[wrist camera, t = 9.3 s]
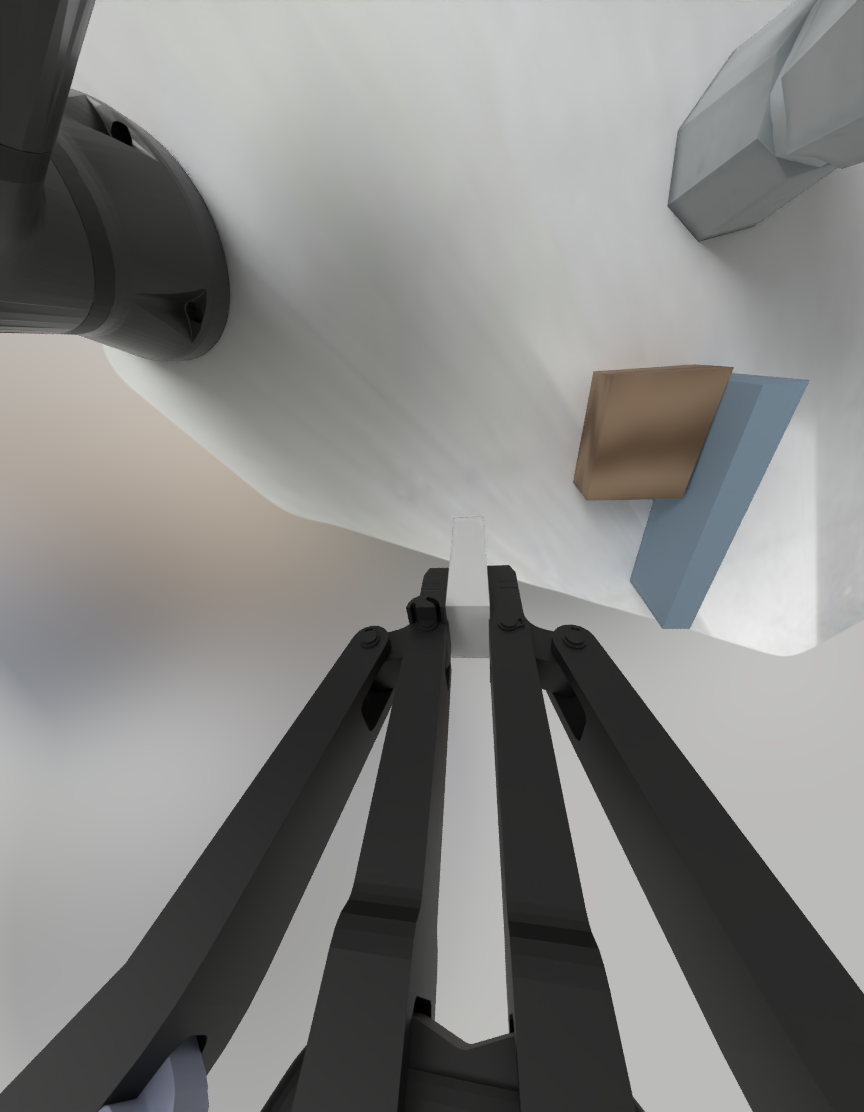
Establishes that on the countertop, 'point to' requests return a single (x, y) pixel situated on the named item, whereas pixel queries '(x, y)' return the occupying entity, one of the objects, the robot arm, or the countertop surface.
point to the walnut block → (646, 430)
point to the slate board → (712, 498)
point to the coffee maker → (773, 119)
